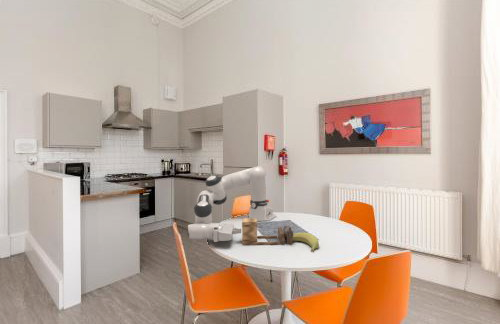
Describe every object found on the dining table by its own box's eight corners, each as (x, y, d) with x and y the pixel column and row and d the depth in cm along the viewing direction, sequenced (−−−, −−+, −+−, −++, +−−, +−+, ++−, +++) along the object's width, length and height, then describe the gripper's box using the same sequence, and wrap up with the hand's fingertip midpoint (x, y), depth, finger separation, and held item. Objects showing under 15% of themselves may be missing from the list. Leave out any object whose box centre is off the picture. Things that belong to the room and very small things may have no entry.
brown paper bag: (242, 244, 143) (241, 222, 142) (242, 239, 151) (242, 218, 150) (257, 243, 143) (257, 222, 142) (256, 238, 151) (256, 218, 150)
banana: (308, 226, 150) (322, 242, 130) (310, 235, 151) (324, 252, 131) (285, 233, 149) (296, 251, 129) (288, 242, 150) (299, 261, 130)
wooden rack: (242, 245, 140) (242, 228, 140) (242, 238, 152) (242, 221, 152) (294, 245, 140) (294, 227, 140) (290, 237, 153) (290, 221, 152)
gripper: (218, 231, 157) (241, 230, 157) (214, 243, 136) (240, 242, 136) (218, 220, 156) (241, 220, 157) (213, 231, 136) (240, 230, 136)
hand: (241, 230), depth 146 cm, fingers closed
